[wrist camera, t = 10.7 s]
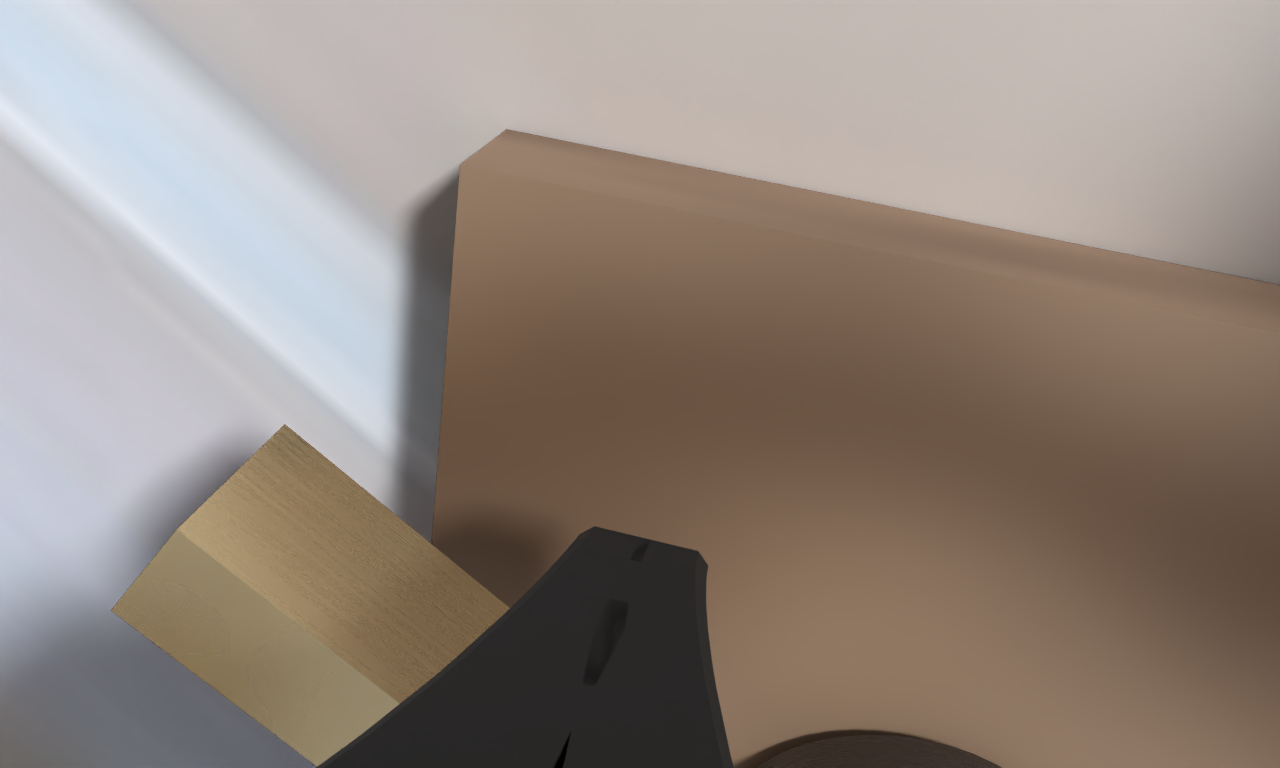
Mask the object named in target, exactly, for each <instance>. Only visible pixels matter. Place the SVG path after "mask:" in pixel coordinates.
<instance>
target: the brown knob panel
mask: <svg viewBox="0 0 1280 768" xmlns="http://www.w3.org/2000/svg"><path fill="white" fill-rule="evenodd" d="M594 526H596V527H600V528H604V529H608V530H613V531H617V532H621V533H625V534H629V535H634V536H638V537H642V538H646V539H650V540H655V541H659V542H663V543H667V544H671V545H676V546H680V547H684V548H688V549H692V550H697V551H699V553H700V554H701V556H702V557H703V558H704V560H705V561H706V563H707V564H708V571H707V580H706V608H707V622H708V633H709V641H710V649H711V657H712V664H713V670H714V676H715V682H716V688H717V693H718V698H719V703H720V707H721V712H722V717H723V722H724V726H725V731H726V736H727V740H728V745H729V750H730V754H731V758H732V762H733V766H734V768H755V767H756V766H758V765H759V764H761V763H763V762H765V761H766V760H768V759H770V758H771V757H773V756H775V755H778V754H780V753H782V752H785V751H787V750H789V749H792V748H794V747H797V746H801V745H804V744H808V743H811V742H815V741H818V740H824V739H830V738H836V737H842V736H855V735H895V736H903V737H911V738H918V739H924V740H928V741H933V742H937V743H941V744H946V745H949V746H952V747H955V748H958V749H961V750H964V751H967V752H970V753H973V754H975V755H977V756H980V757H982V758H984V759H986V760H988V761H990V762H993V763H995V764H997V765H999V766H1000V767H1002V768H1280V285H1277V284H1272V283H1267V282H1262V281H1257V280H1252V279H1247V278H1242V277H1237V276H1232V275H1227V274H1223V273H1218V272H1213V271H1208V270H1203V269H1198V268H1193V267H1188V266H1183V265H1178V264H1173V263H1168V262H1163V261H1158V260H1153V259H1148V258H1143V257H1138V256H1133V255H1128V254H1123V253H1118V252H1113V251H1108V250H1103V249H1098V248H1093V247H1088V246H1083V245H1078V244H1073V243H1069V242H1064V241H1059V240H1054V239H1049V238H1044V237H1039V236H1034V235H1029V234H1024V233H1019V232H1014V231H1009V230H1004V229H999V228H994V227H989V226H984V225H979V224H974V223H969V222H964V221H959V220H954V219H949V218H944V217H939V216H934V215H929V214H924V213H919V212H915V211H910V210H905V209H900V208H895V207H890V206H885V205H880V204H875V203H870V202H865V201H860V200H855V199H850V198H845V197H840V196H835V195H830V194H825V193H820V192H815V191H810V190H805V189H800V188H795V187H790V186H785V185H780V184H775V183H770V182H765V181H761V180H756V179H751V178H746V177H741V176H736V175H731V174H726V173H721V172H716V171H711V170H706V169H701V168H696V167H691V166H686V165H681V164H676V163H671V162H666V161H661V160H656V159H651V158H646V157H641V156H636V155H631V154H626V153H621V152H616V151H611V150H607V149H602V148H597V147H592V146H587V145H582V144H577V143H572V142H567V141H562V140H557V139H552V138H547V137H542V136H537V135H532V134H527V133H522V132H517V131H512V130H507V129H506V130H505V131H504V132H502V133H501V134H500V135H498V136H497V137H496V138H495V139H493V140H492V141H491V142H489V143H488V144H487V145H485V146H484V147H483V148H481V149H480V150H479V151H477V152H476V153H475V154H473V155H472V156H471V157H469V158H468V159H467V160H465V161H464V162H463V163H462V164H460V172H459V185H458V199H457V212H456V225H455V238H454V252H453V265H452V278H451V291H450V305H449V318H448V331H447V344H446V358H445V371H444V384H443V397H442V411H441V424H440V437H439V450H438V464H437V477H436V490H435V503H434V517H433V530H432V543H431V544H432V545H433V546H434V547H436V548H437V549H438V550H439V551H441V552H442V553H443V554H444V555H445V556H447V557H448V558H449V559H450V560H452V561H453V562H454V563H455V564H456V565H458V566H459V567H460V568H461V569H463V570H464V571H465V572H466V573H467V574H469V575H470V576H471V577H472V578H474V579H475V580H476V581H477V582H478V583H480V584H481V585H482V586H483V587H485V588H486V589H487V590H488V591H489V592H491V593H492V594H493V595H494V596H496V597H497V598H498V599H499V600H500V601H502V602H503V603H504V604H505V605H507V606H508V607H509V608H511V607H512V606H513V605H514V604H515V603H516V602H517V601H518V600H519V599H520V598H521V597H522V596H523V595H524V594H525V593H526V592H527V591H528V590H529V589H530V588H531V587H532V586H533V585H534V584H535V583H536V582H537V581H538V580H539V579H540V578H541V577H542V576H543V575H544V574H545V573H546V572H547V571H548V570H549V569H550V567H551V566H552V565H553V564H554V563H555V562H556V561H557V560H558V559H559V558H560V557H561V555H562V554H563V553H564V552H565V551H566V550H567V549H568V548H569V546H570V545H571V544H572V543H573V542H574V540H575V539H576V538H577V537H578V535H579V534H581V533H583V532H585V531H586V530H588V529H590V528H592V527H594Z"/></svg>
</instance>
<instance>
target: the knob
mask: <svg viewBox="0 0 1280 768" xmlns="http://www.w3.org/2000/svg"><path fill="white" fill-rule="evenodd" d="M509 609H510V608H509V607H508V606H507V605H505V604H504V603H503V602H502V601H500V600H499V599H498V598H497V597H496V596H494V595H493V594H492V593H491V592H489V591H488V590H487V589H486V588H485V587H483V586H482V585H481V584H480V583H478V582H477V581H476V580H475V579H474V578H472V577H471V576H470V575H469V574H467V573H466V572H465V571H464V570H463V569H461V568H460V567H459V566H458V565H456V564H455V563H454V562H453V561H452V560H450V559H449V558H448V557H447V556H445V555H444V554H443V553H442V552H441V551H439V550H438V549H437V548H436V547H434V546H433V545H432V544H431V543H430V542H428V541H427V540H426V539H425V538H423V537H422V536H421V535H420V534H418V533H417V532H416V531H415V530H414V529H412V528H411V527H410V526H409V525H407V524H406V523H405V522H404V521H403V520H401V519H400V518H399V517H398V516H396V515H395V514H394V513H393V512H392V511H390V510H389V509H388V508H387V507H385V506H384V505H383V504H382V503H381V502H379V501H378V500H377V499H376V498H374V497H373V496H372V495H371V494H370V493H368V492H367V491H366V490H365V489H363V488H362V487H361V486H360V485H359V484H357V483H356V482H355V481H354V480H352V479H351V478H350V477H349V476H348V475H346V474H345V473H344V472H343V471H341V470H340V469H339V468H338V467H337V466H335V465H334V464H333V463H332V462H330V461H329V460H328V459H327V458H326V457H324V456H323V455H322V454H321V453H319V452H318V451H317V450H316V449H315V448H313V447H312V446H311V445H310V444H308V443H307V442H306V441H305V440H304V439H302V438H301V437H300V436H299V435H297V434H296V433H295V432H294V431H293V430H291V429H290V428H289V427H288V426H286V425H283V426H282V427H281V428H280V429H279V430H278V431H277V432H276V433H275V434H274V435H273V436H272V437H271V438H270V439H269V440H268V441H267V442H266V443H265V444H264V445H263V446H262V447H261V448H260V449H259V450H258V451H257V452H256V453H255V454H254V455H253V456H252V457H251V458H250V459H249V460H248V461H247V462H246V463H244V464H243V465H242V466H241V467H240V468H239V469H238V470H237V471H236V472H235V473H234V474H233V475H232V476H231V477H230V478H229V479H228V480H227V481H226V482H225V483H224V484H223V485H222V486H221V487H220V488H219V489H218V490H217V491H216V492H215V493H214V494H213V495H212V496H211V497H210V498H209V499H208V500H207V501H205V502H204V503H203V504H202V505H201V506H200V507H199V508H198V509H197V510H196V511H195V512H194V513H193V514H192V515H191V516H190V517H189V518H188V519H187V520H186V521H185V522H184V523H183V524H182V525H181V526H180V527H179V528H178V529H177V530H176V531H175V532H174V533H173V535H172V536H171V537H170V538H169V540H168V541H167V542H166V543H165V545H164V546H163V547H162V548H161V549H160V551H159V552H158V553H157V554H156V556H155V557H154V558H153V559H152V560H151V562H150V563H149V564H148V565H147V567H146V568H145V569H144V570H143V572H142V573H141V574H140V575H139V576H138V578H137V579H136V580H135V581H134V583H133V584H132V585H131V586H130V587H129V589H128V590H127V591H126V592H125V594H124V595H123V596H122V597H121V599H120V600H119V601H118V602H117V603H116V605H115V606H114V607H113V608H112V610H111V611H112V612H114V613H115V614H116V615H117V616H119V617H120V618H121V619H123V620H124V621H125V622H127V623H128V624H129V625H131V626H132V627H133V628H135V629H136V630H137V631H139V632H140V633H141V634H143V635H144V636H145V637H147V638H148V639H149V640H150V641H152V642H153V643H154V644H156V645H157V646H158V647H160V648H161V649H162V650H164V651H165V652H166V653H168V654H169V655H170V656H172V657H173V658H174V659H176V660H177V661H178V662H179V663H181V664H182V665H183V666H185V667H186V668H187V669H189V670H190V671H191V672H193V673H194V674H195V675H197V676H198V677H199V678H201V679H202V680H203V681H205V682H206V683H207V684H208V685H210V686H211V687H212V688H214V689H215V690H216V691H218V692H219V693H220V694H222V695H223V696H224V697H226V698H227V699H228V700H230V701H231V702H232V703H234V704H235V705H236V706H237V707H239V708H240V709H241V710H243V711H244V712H245V713H247V714H248V715H249V716H251V717H252V718H253V719H255V720H256V721H257V722H259V723H260V724H261V725H263V726H264V727H265V728H267V729H268V730H269V731H270V732H272V733H273V734H274V735H276V736H277V737H278V738H280V739H281V740H282V741H284V742H285V743H286V744H288V745H289V746H290V747H292V748H293V749H294V750H296V751H297V752H298V753H299V754H301V755H302V756H303V757H305V758H306V759H307V760H309V761H310V762H311V763H313V764H314V765H315V766H319V765H320V764H322V763H323V762H324V761H326V760H327V759H328V758H330V757H331V756H333V755H334V754H335V753H337V752H338V751H339V750H341V749H342V748H344V747H345V746H346V745H348V744H349V743H350V742H352V741H353V740H354V739H356V738H357V737H358V736H360V735H361V734H362V733H364V732H365V731H366V730H368V729H369V728H370V727H371V726H373V725H374V724H375V723H376V722H378V721H379V720H380V719H381V718H383V717H384V716H385V715H386V714H388V713H389V712H390V711H391V710H393V709H394V708H395V707H396V706H398V705H399V704H400V703H401V702H403V701H404V700H405V699H406V698H408V697H409V696H410V695H411V694H413V693H414V692H415V691H416V690H418V689H419V688H420V687H422V686H423V685H424V684H425V683H427V682H428V681H429V680H430V679H432V678H433V677H434V676H435V675H436V674H438V673H439V672H440V671H441V670H442V669H443V668H445V667H446V666H447V665H448V664H449V663H450V662H452V661H453V660H454V659H455V658H456V657H457V656H458V655H459V654H460V653H462V652H463V651H464V650H465V649H466V648H467V647H468V646H469V645H470V644H472V643H473V642H474V641H475V640H476V639H477V638H478V637H479V636H480V635H481V634H483V633H484V632H485V631H486V630H487V629H488V628H489V627H490V626H491V625H493V624H494V623H495V622H496V621H497V620H498V619H499V618H500V617H501V616H502V615H504V614H505V613H506V612H507V611H508V610H509ZM755 768H1002V767H1000V766H999V765H997V764H995V763H993V762H990V761H988V760H986V759H984V758H982V757H980V756H977V755H975V754H973V753H970V752H967V751H964V750H961V749H958V748H955V747H952V746H949V745H946V744H941V743H937V742H933V741H928V740H924V739H918V738H911V737H903V736H895V735H855V736H842V737H836V738H830V739H824V740H818V741H815V742H811V743H808V744H804V745H801V746H797V747H794V748H792V749H789V750H787V751H785V752H782V753H780V754H778V755H775V756H773V757H771V758H770V759H768V760H766V761H765V762H763V763H761V764H759V765H758V766H756V767H755Z"/></svg>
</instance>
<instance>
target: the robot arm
mask: <svg viewBox="0 0 1280 768" xmlns="http://www.w3.org/2000/svg"><path fill="white" fill-rule="evenodd" d="M707 571H708V564H707V563H706V561H705V560H704V558H703V557H702V556H701V554H700V553H699V551H697V550H692V549H688V548H684V547H680V546H676V545H671V544H667V543H663V542H659V541H655V540H650V539H646V538H642V537H638V536H634V535H629V534H625V533H621V532H617V531H613V530H608V529H604V528H600V527H596V526H594V527H592V528H590V529H588V530H586V531H585V532H583V533H581V534H579V535H578V537H577V538H576V539H575V540H574V542H573V543H572V544H571V545H570V546H569V548H568V549H567V550H566V551H565V552H564V553H563V554H562V555H561V557H560V558H559V559H558V560H557V561H556V562H555V563H554V564H553V565H552V566H551V567H550V569H549V570H548V571H547V572H546V573H545V574H544V575H543V576H542V577H541V578H540V579H539V580H538V581H537V582H536V583H535V584H534V585H533V586H532V587H531V588H530V589H529V590H528V591H527V592H526V593H525V594H524V595H523V596H522V597H521V598H520V599H519V600H518V601H517V602H516V603H515V604H514V605H513V606H512V607H511V608H510V609H509V610H508V611H507V612H506V613H505V614H504V615H502V616H501V617H500V618H499V619H498V620H497V621H496V622H495V623H494V624H493V625H491V626H490V627H489V628H488V629H487V630H486V631H485V632H484V633H483V634H481V635H480V636H479V637H478V638H477V639H476V640H475V641H474V642H473V643H472V644H470V645H469V646H468V647H467V648H466V649H465V650H464V651H463V652H462V653H460V654H459V655H458V656H457V657H456V658H455V659H454V660H453V661H452V662H450V663H449V664H448V665H447V666H446V667H445V668H443V669H442V670H441V671H440V672H439V673H438V674H436V675H435V676H434V677H433V678H432V679H430V680H429V681H428V682H427V683H425V684H424V685H423V686H422V687H420V688H419V689H418V690H416V691H415V692H414V693H413V694H411V695H410V696H409V697H408V698H406V699H405V700H404V701H403V702H401V703H400V704H399V705H398V706H396V707H395V708H394V709H393V710H391V711H390V712H389V713H388V714H386V715H385V716H384V717H383V718H381V719H380V720H379V721H378V722H376V723H375V724H374V725H373V726H371V727H370V728H369V729H368V730H366V731H365V732H364V733H362V734H361V735H360V736H358V737H357V738H356V739H354V740H353V741H352V742H350V743H349V744H348V745H346V746H345V747H344V748H342V749H341V750H339V751H338V752H337V753H335V754H334V755H333V756H331V757H330V758H328V759H327V760H326V761H324V762H323V763H322V764H320V765H319V766H317V767H316V768H734V766H733V762H732V758H731V754H730V750H729V745H728V740H727V736H726V731H725V726H724V722H723V717H722V712H721V707H720V703H719V698H718V693H717V688H716V682H715V676H714V670H713V664H712V657H711V649H710V641H709V633H708V622H707V608H706V580H707Z"/></svg>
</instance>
